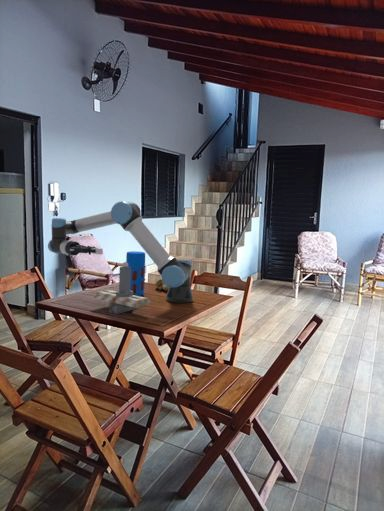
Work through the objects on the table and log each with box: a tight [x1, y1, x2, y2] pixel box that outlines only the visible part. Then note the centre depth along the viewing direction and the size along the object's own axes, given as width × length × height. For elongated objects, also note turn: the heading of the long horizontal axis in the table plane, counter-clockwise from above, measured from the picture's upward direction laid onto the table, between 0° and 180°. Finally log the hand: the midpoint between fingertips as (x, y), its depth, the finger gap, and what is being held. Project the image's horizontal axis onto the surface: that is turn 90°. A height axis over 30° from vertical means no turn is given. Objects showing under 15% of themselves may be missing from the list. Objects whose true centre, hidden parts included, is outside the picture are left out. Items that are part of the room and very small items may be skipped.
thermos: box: [125, 250, 146, 297], centre depth 216 cm, size 11×11×25 cm
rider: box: [116, 261, 133, 297], centre depth 179 cm, size 4×8×18 cm, turn 147°
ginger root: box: [154, 278, 169, 291], centre depth 236 cm, size 16×16×8 cm
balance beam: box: [93, 289, 151, 315], centre depth 181 cm, size 28×12×8 cm, turn 57°
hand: (101, 251), depth 186 cm, fingers closed
